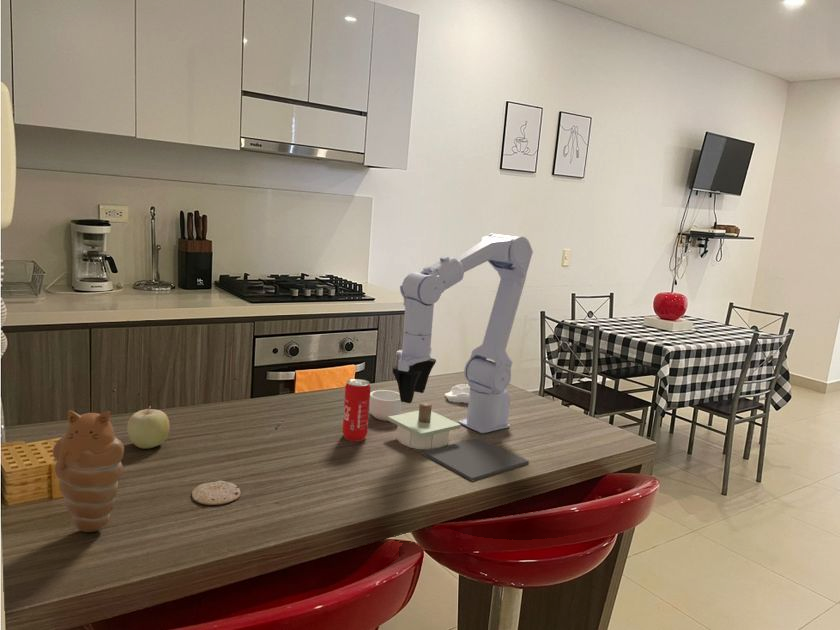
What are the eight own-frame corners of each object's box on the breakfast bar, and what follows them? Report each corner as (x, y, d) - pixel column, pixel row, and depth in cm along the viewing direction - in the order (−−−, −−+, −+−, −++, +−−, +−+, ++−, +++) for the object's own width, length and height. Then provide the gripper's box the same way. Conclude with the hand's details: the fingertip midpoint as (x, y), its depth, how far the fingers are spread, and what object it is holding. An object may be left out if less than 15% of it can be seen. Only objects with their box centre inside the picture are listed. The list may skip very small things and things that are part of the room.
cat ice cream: (46, 546, 85) (43, 419, 82) (68, 517, 93) (66, 399, 89) (116, 545, 87) (116, 420, 83) (132, 516, 94) (132, 401, 91)
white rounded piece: (462, 391, 157) (437, 381, 165) (460, 408, 158) (435, 397, 165) (490, 386, 164) (465, 376, 171) (488, 402, 164) (463, 392, 172)
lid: (426, 412, 141) (428, 393, 141) (460, 428, 133) (462, 408, 132) (387, 420, 134) (389, 400, 134) (420, 437, 126) (422, 416, 125)
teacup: (408, 418, 147) (410, 396, 146) (385, 425, 141) (387, 402, 140) (378, 407, 153) (379, 385, 152) (354, 413, 147) (356, 391, 146)
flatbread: (240, 505, 101) (240, 500, 100) (190, 508, 98) (190, 502, 98) (239, 483, 108) (240, 477, 108) (193, 485, 106) (193, 480, 106)
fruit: (176, 447, 120) (177, 407, 119) (137, 456, 115) (137, 414, 113) (158, 434, 125) (158, 396, 124) (120, 443, 120) (120, 402, 118)
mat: (478, 440, 137) (479, 437, 137) (528, 463, 126) (528, 460, 126) (422, 454, 127) (423, 451, 127) (471, 481, 116) (472, 478, 116)
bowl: (425, 427, 142) (426, 412, 141) (458, 443, 134) (459, 428, 133) (387, 435, 135) (388, 420, 134) (419, 453, 127) (420, 437, 126)
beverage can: (362, 443, 130) (366, 387, 127) (338, 439, 131) (342, 383, 128) (369, 434, 135) (373, 380, 132) (346, 431, 136) (350, 377, 133)
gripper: (411, 324, 136) (406, 384, 138) (385, 336, 122) (381, 403, 125) (442, 328, 133) (437, 390, 136) (420, 341, 120) (414, 409, 122)
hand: (412, 396), depth 130 cm, fingers open, 7 cm apart
